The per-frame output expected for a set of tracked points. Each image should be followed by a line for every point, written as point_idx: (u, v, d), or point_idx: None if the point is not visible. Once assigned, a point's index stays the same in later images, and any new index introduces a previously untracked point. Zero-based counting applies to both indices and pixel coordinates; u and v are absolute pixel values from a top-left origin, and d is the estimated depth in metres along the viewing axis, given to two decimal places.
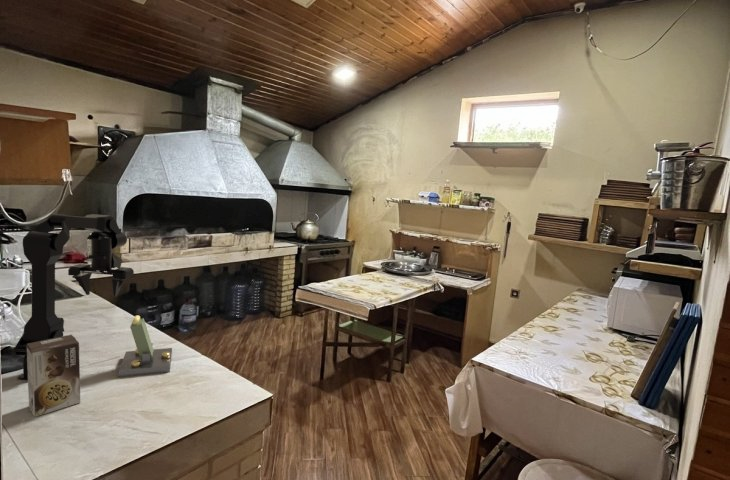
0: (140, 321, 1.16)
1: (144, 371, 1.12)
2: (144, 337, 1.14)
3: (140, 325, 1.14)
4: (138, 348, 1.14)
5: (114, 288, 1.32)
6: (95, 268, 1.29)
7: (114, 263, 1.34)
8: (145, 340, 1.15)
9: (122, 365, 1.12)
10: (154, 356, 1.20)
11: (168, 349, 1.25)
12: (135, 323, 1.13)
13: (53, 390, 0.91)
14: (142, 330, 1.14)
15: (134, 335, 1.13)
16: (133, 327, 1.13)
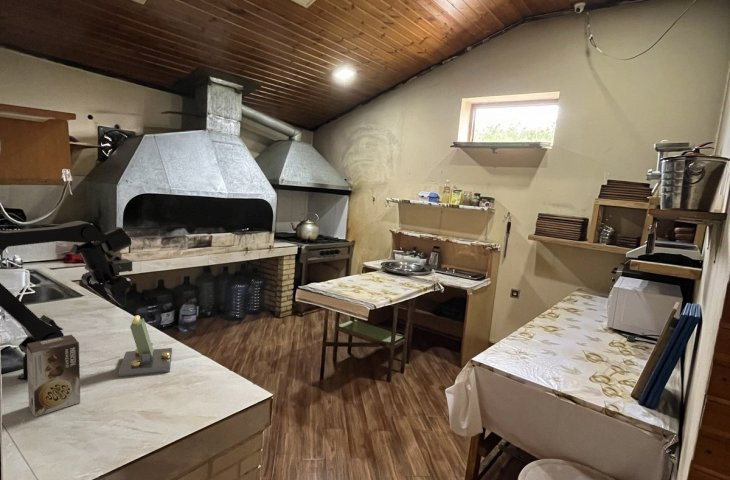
0: (140, 321, 1.16)
1: (144, 371, 1.12)
2: (144, 337, 1.14)
3: (140, 325, 1.14)
4: (138, 348, 1.14)
5: (116, 300, 1.17)
6: (93, 280, 1.16)
7: (115, 271, 1.18)
8: (145, 340, 1.15)
9: (122, 365, 1.12)
10: (154, 356, 1.20)
11: (168, 349, 1.25)
12: (135, 323, 1.13)
13: (53, 390, 0.91)
14: (142, 330, 1.14)
15: (134, 335, 1.13)
16: (133, 327, 1.13)
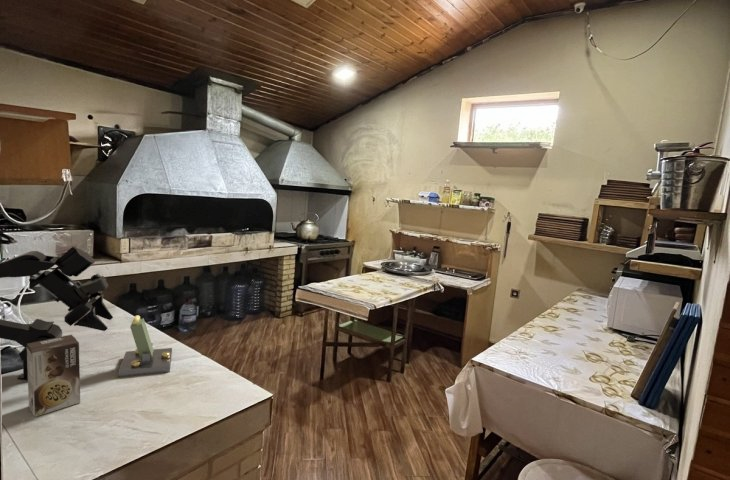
0: (140, 321, 1.16)
1: (144, 371, 1.12)
2: (144, 337, 1.14)
3: (140, 325, 1.14)
4: (138, 348, 1.14)
5: None
6: None
7: (81, 295, 1.07)
8: (145, 340, 1.15)
9: (122, 365, 1.12)
10: (154, 356, 1.20)
11: (168, 349, 1.25)
12: (135, 323, 1.13)
13: (53, 390, 0.91)
14: (142, 330, 1.14)
15: (134, 335, 1.13)
16: (133, 327, 1.13)
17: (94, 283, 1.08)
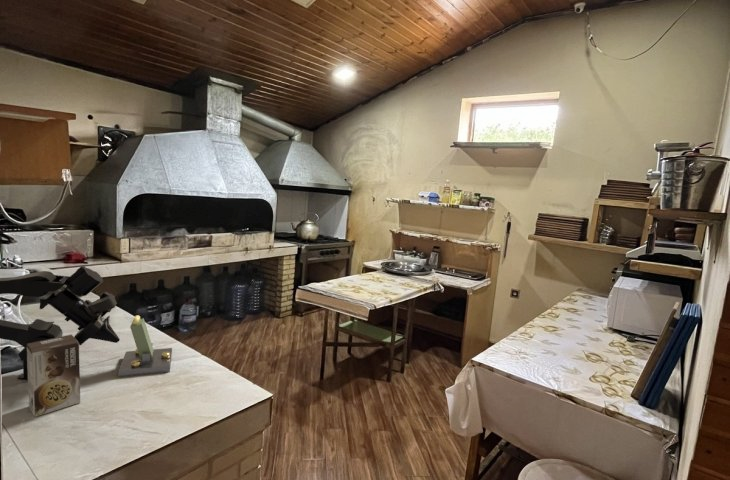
0: (140, 321, 1.16)
1: (144, 371, 1.12)
2: (144, 337, 1.14)
3: (140, 325, 1.14)
4: (138, 348, 1.14)
5: None
6: None
7: (91, 314, 1.08)
8: (145, 340, 1.15)
9: (122, 365, 1.12)
10: (154, 356, 1.20)
11: (168, 349, 1.25)
12: (135, 323, 1.13)
13: (53, 390, 0.91)
14: (142, 330, 1.14)
15: (134, 335, 1.13)
16: (133, 327, 1.13)
17: (103, 302, 1.09)
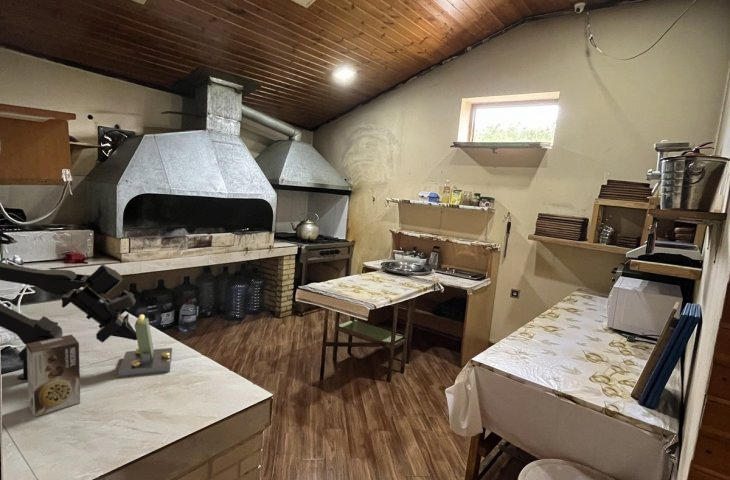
0: (144, 320, 1.16)
1: (144, 371, 1.12)
2: (147, 337, 1.15)
3: (144, 324, 1.14)
4: (139, 347, 1.14)
5: None
6: None
7: (111, 312, 1.10)
8: (147, 340, 1.15)
9: (122, 365, 1.12)
10: (154, 356, 1.20)
11: (168, 349, 1.25)
12: (140, 322, 1.14)
13: (53, 390, 0.91)
14: (146, 330, 1.14)
15: (137, 334, 1.14)
16: (137, 326, 1.13)
17: (123, 300, 1.11)
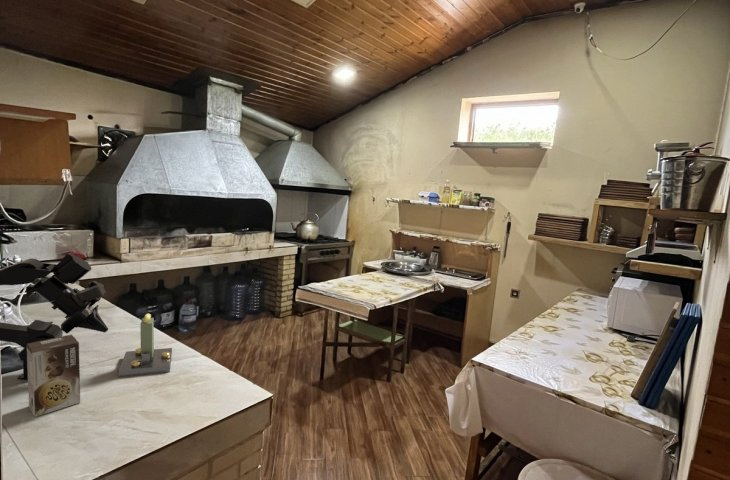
0: (150, 320, 1.17)
1: (144, 371, 1.12)
2: (150, 337, 1.15)
3: (150, 324, 1.15)
4: (141, 346, 1.15)
5: None
6: None
7: (78, 302, 1.06)
8: (150, 340, 1.15)
9: (122, 365, 1.12)
10: (154, 356, 1.20)
11: (168, 349, 1.25)
12: (146, 321, 1.14)
13: (53, 390, 0.91)
14: (150, 329, 1.15)
15: (141, 333, 1.14)
16: (143, 325, 1.14)
17: (91, 290, 1.07)
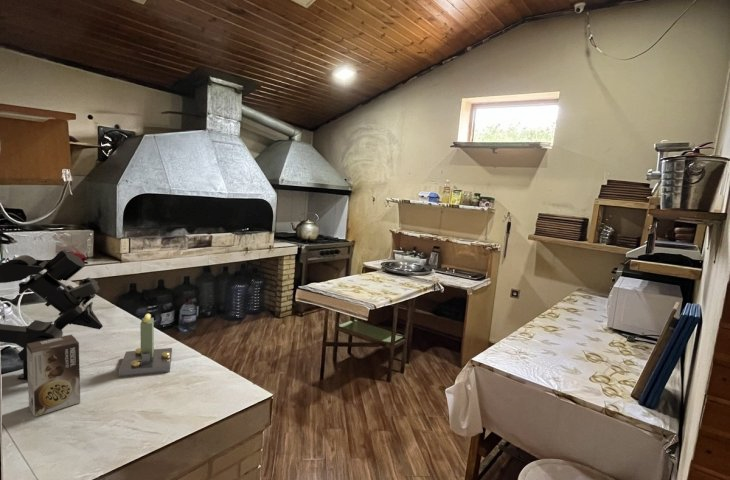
0: (150, 320, 1.17)
1: (144, 371, 1.12)
2: (150, 337, 1.15)
3: (150, 324, 1.15)
4: (141, 346, 1.15)
5: None
6: None
7: (72, 299, 1.05)
8: (150, 340, 1.15)
9: (122, 365, 1.12)
10: (154, 356, 1.20)
11: (168, 349, 1.25)
12: (146, 321, 1.14)
13: (53, 390, 0.91)
14: (150, 329, 1.15)
15: (141, 333, 1.14)
16: (143, 325, 1.14)
17: (84, 287, 1.07)
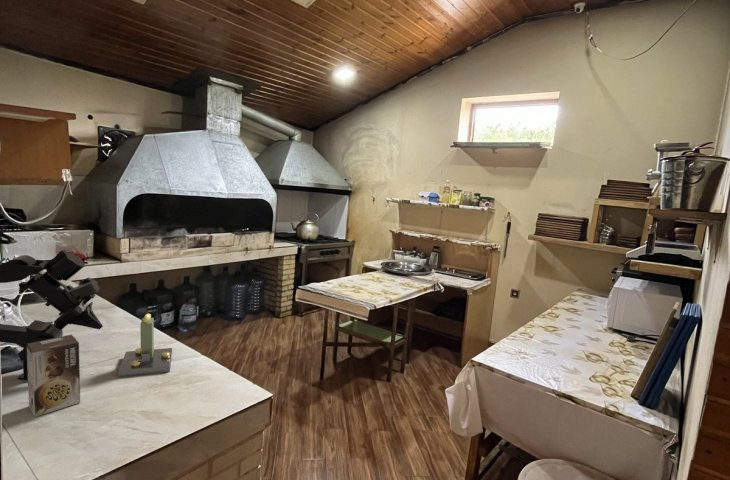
0: (150, 320, 1.17)
1: (144, 371, 1.12)
2: (150, 337, 1.15)
3: (150, 324, 1.15)
4: (141, 346, 1.15)
5: None
6: None
7: (72, 299, 1.05)
8: (150, 340, 1.15)
9: (122, 365, 1.12)
10: (154, 356, 1.20)
11: (168, 349, 1.25)
12: (146, 321, 1.14)
13: (53, 390, 0.91)
14: (150, 329, 1.15)
15: (141, 333, 1.14)
16: (143, 325, 1.14)
17: (84, 287, 1.07)
